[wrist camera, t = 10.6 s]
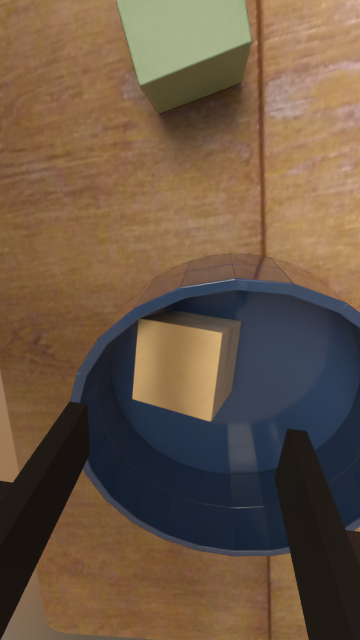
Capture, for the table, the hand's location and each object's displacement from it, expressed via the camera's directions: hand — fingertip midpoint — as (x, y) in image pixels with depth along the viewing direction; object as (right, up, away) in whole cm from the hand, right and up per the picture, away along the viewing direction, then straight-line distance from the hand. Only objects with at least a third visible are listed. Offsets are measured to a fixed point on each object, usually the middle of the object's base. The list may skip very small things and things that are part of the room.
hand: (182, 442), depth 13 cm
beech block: (+1, +3, +9) cm, 10 cm away
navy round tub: (+4, 0, +12) cm, 12 cm away
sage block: (0, +20, +4) cm, 20 cm away
